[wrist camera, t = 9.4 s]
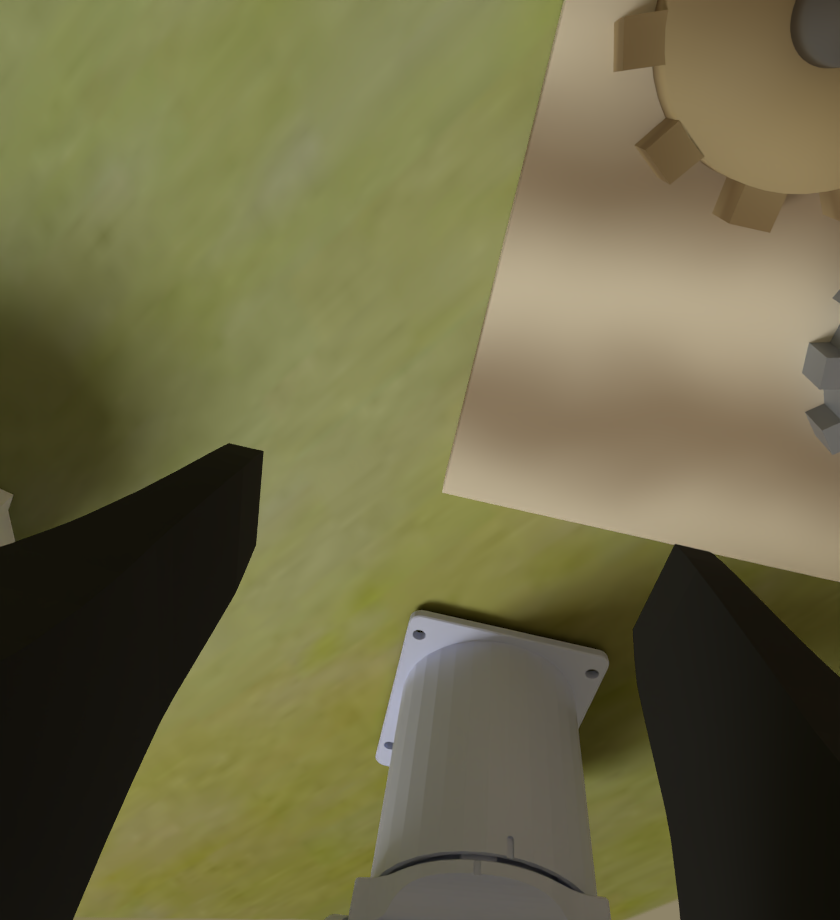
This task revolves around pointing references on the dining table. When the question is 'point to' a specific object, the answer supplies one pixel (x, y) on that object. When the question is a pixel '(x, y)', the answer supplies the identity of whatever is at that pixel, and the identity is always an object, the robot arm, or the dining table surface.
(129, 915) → the dining table surface
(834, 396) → the planet gear
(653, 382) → the carrier
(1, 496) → the cup
